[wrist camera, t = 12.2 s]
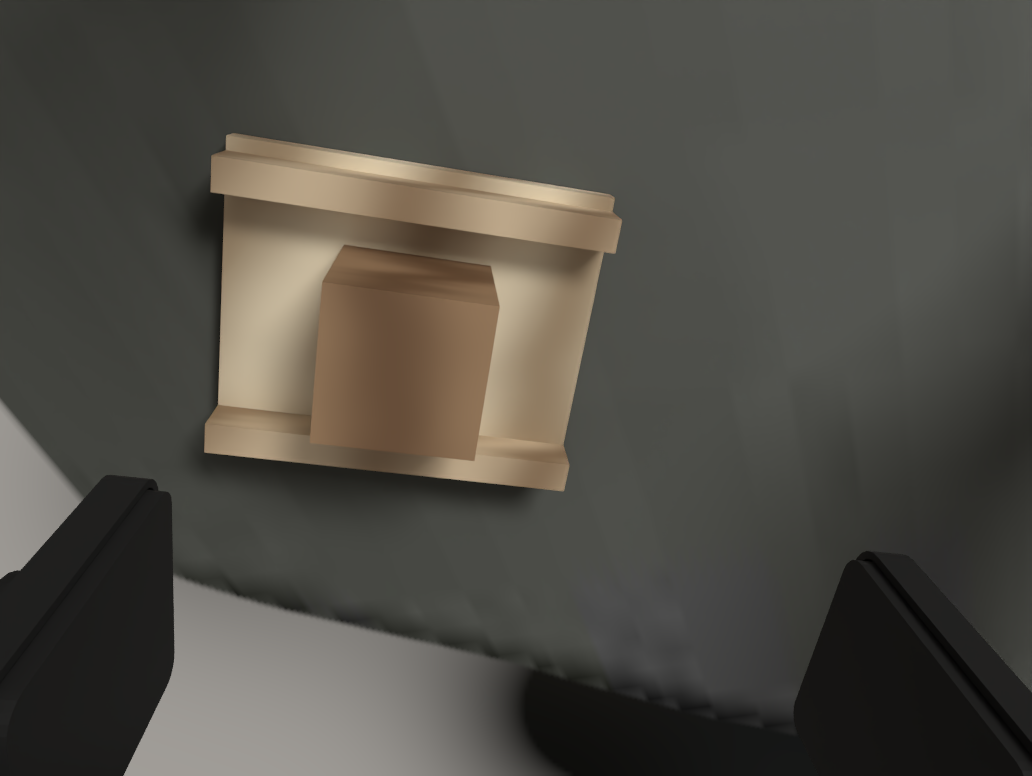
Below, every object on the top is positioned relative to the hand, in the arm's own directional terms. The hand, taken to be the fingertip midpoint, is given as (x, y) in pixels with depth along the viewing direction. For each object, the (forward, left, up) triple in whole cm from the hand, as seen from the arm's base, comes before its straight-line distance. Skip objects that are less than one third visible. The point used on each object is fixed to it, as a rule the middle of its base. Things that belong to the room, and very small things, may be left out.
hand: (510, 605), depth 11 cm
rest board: (+2, +3, -21) cm, 22 cm away
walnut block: (+2, +3, -20) cm, 21 cm away
